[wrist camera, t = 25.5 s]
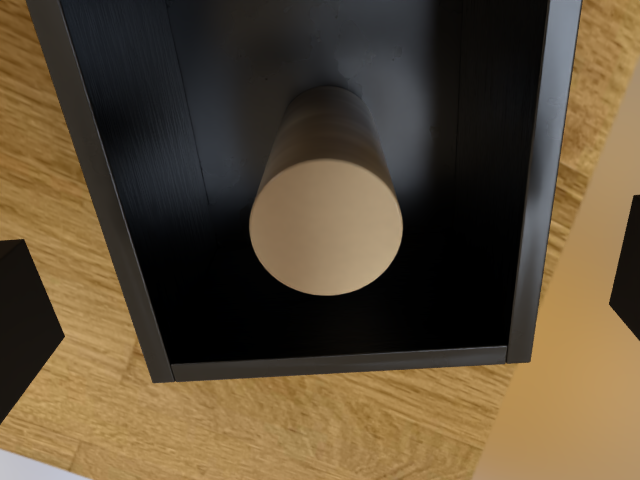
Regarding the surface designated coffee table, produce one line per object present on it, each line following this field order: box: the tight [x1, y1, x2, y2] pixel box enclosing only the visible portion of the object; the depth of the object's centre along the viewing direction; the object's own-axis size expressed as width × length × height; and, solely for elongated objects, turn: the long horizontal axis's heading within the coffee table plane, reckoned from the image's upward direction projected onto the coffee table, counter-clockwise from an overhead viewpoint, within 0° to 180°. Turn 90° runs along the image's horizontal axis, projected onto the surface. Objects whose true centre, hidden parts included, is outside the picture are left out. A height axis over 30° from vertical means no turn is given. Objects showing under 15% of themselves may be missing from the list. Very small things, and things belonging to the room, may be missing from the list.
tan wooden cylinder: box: [249, 86, 403, 295], centre depth 17 cm, size 4×4×9 cm
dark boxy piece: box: [26, 0, 583, 383], centre depth 17 cm, size 14×13×9 cm
